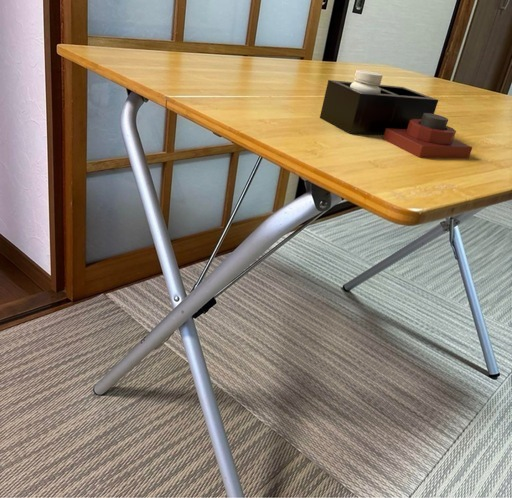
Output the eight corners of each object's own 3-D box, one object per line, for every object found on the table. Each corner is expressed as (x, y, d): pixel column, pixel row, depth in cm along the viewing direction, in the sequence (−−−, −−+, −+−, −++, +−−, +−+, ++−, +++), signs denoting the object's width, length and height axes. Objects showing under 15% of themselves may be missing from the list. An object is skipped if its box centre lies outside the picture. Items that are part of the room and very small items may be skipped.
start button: (432, 125, 77) (435, 113, 76) (449, 132, 74) (453, 120, 73) (414, 124, 75) (418, 112, 75) (431, 131, 73) (435, 119, 72)
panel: (430, 140, 82) (437, 118, 80) (468, 158, 76) (477, 135, 74) (382, 139, 77) (389, 116, 75) (418, 157, 71) (427, 133, 69)
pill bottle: (354, 131, 78) (369, 74, 74) (334, 122, 81) (347, 67, 78) (376, 131, 81) (391, 76, 77) (356, 123, 84) (369, 69, 80)
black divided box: (392, 121, 90) (403, 86, 87) (426, 137, 83) (438, 100, 81) (319, 118, 82) (328, 79, 80) (349, 134, 76) (360, 93, 73)
